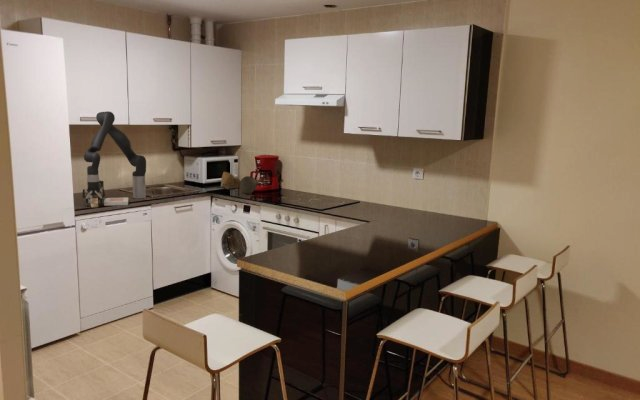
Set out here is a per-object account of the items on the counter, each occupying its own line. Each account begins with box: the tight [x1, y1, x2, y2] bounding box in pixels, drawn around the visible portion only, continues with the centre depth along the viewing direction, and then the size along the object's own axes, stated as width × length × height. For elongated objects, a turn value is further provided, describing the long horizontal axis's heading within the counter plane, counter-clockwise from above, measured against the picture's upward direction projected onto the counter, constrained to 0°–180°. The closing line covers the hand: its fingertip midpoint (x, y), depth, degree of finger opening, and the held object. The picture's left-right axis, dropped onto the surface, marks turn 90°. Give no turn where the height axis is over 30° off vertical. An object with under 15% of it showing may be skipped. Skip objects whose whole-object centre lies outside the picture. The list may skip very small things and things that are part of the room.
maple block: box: [90, 198, 99, 208], centre depth 343 cm, size 4×4×6 cm
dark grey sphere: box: [239, 175, 258, 195], centre depth 413 cm, size 14×14×15 cm
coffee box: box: [87, 179, 105, 204], centre depth 355 cm, size 9×6×16 cm
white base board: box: [103, 196, 129, 206], centre depth 357 cm, size 16×16×3 cm
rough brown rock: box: [220, 171, 241, 190], centre depth 439 cm, size 23×17×15 cm
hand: (94, 203), depth 343 cm, fingers open, 8 cm apart
